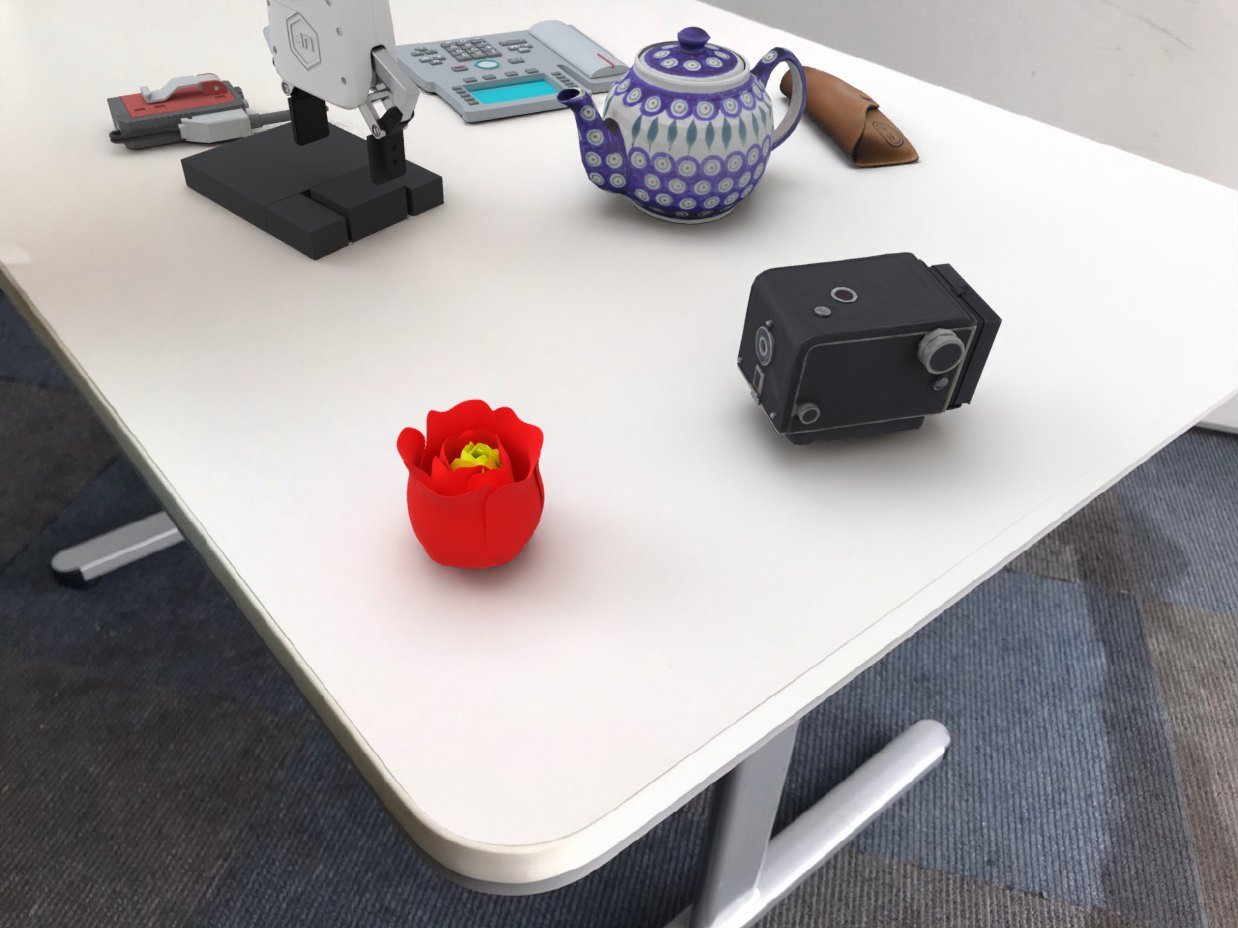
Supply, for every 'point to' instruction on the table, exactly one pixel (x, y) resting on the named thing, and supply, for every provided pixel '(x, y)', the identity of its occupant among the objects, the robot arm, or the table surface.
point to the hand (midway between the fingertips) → (349, 159)
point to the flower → (473, 484)
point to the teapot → (685, 127)
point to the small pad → (363, 202)
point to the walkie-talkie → (186, 113)
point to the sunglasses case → (852, 120)
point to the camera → (862, 345)
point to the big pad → (295, 184)
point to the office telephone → (511, 69)
